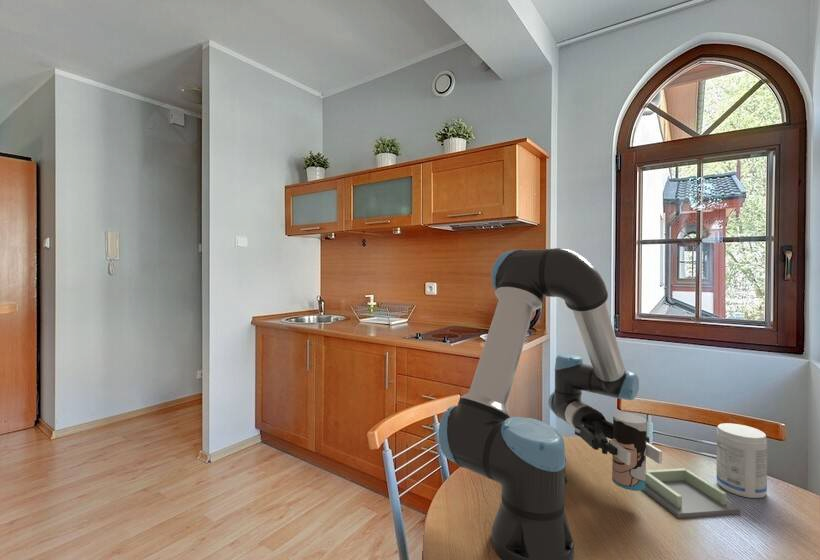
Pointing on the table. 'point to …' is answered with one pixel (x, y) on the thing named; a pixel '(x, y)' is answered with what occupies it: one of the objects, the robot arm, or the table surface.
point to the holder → (687, 494)
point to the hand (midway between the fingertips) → (644, 458)
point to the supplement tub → (742, 460)
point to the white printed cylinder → (632, 438)
